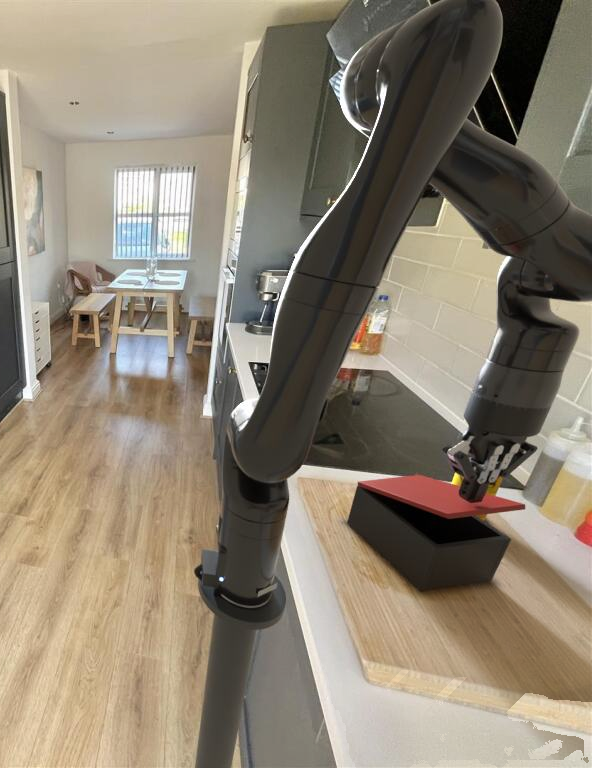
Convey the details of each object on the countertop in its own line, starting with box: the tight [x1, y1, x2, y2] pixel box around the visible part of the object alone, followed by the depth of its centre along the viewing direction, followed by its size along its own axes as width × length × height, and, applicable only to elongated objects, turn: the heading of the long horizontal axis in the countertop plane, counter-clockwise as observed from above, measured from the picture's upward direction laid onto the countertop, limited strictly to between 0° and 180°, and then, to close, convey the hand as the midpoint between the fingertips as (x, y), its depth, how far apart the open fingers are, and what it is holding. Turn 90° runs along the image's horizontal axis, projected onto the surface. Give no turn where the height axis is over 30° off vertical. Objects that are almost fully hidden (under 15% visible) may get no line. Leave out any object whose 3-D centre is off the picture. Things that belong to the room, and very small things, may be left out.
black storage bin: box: [346, 485, 512, 593], centre depth 68 cm, size 16×13×9 cm
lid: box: [357, 474, 526, 519], centre depth 66 cm, size 16×13×1 cm
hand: (469, 499), depth 60 cm, fingers closed
